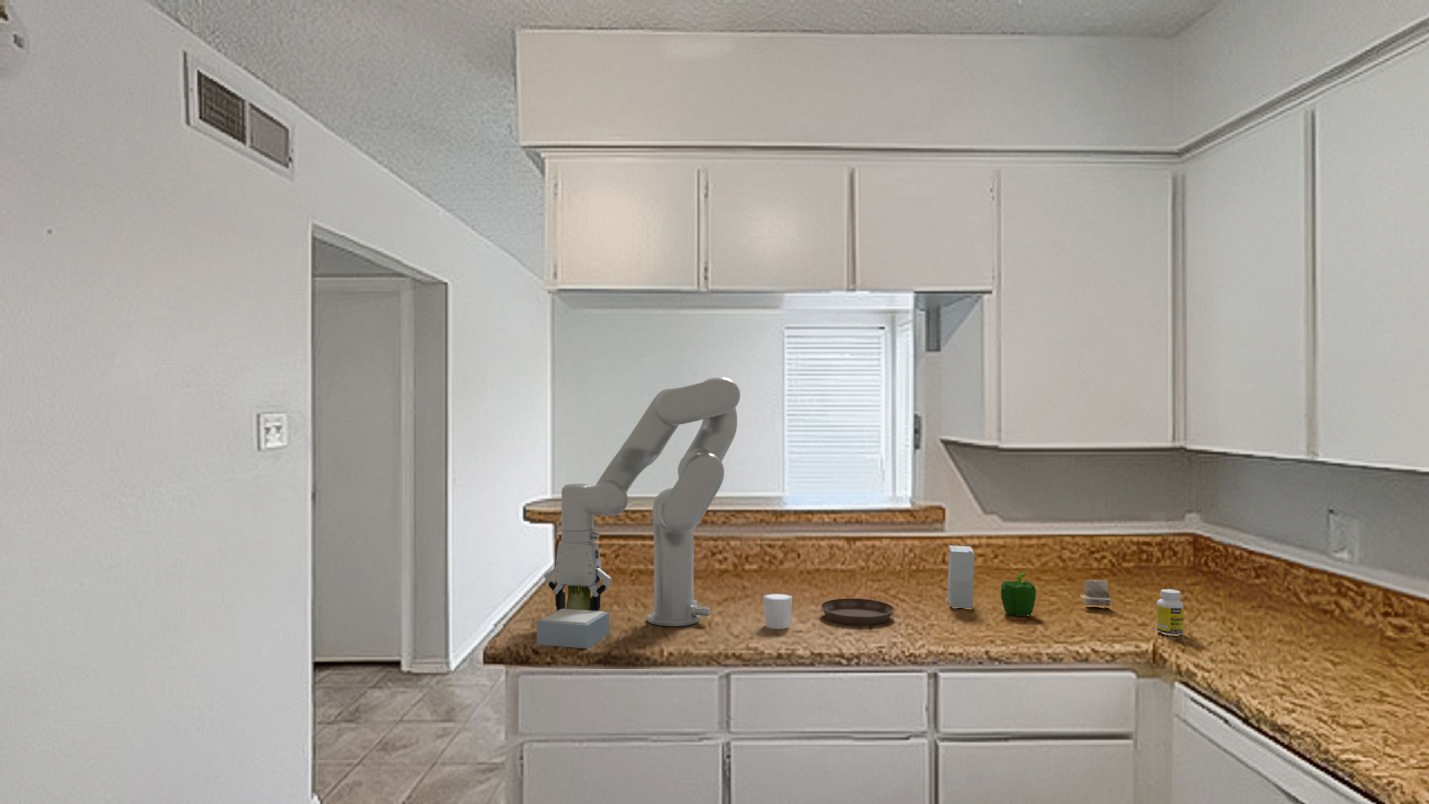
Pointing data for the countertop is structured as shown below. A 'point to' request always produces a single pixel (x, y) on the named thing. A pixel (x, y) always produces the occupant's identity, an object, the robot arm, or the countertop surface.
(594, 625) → the base block
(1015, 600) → the bell pepper
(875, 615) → the plant saucer
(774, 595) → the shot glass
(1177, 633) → the supplement bottle
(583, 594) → the fennel bulb
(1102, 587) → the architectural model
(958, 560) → the skincare box
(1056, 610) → the countertop surface
